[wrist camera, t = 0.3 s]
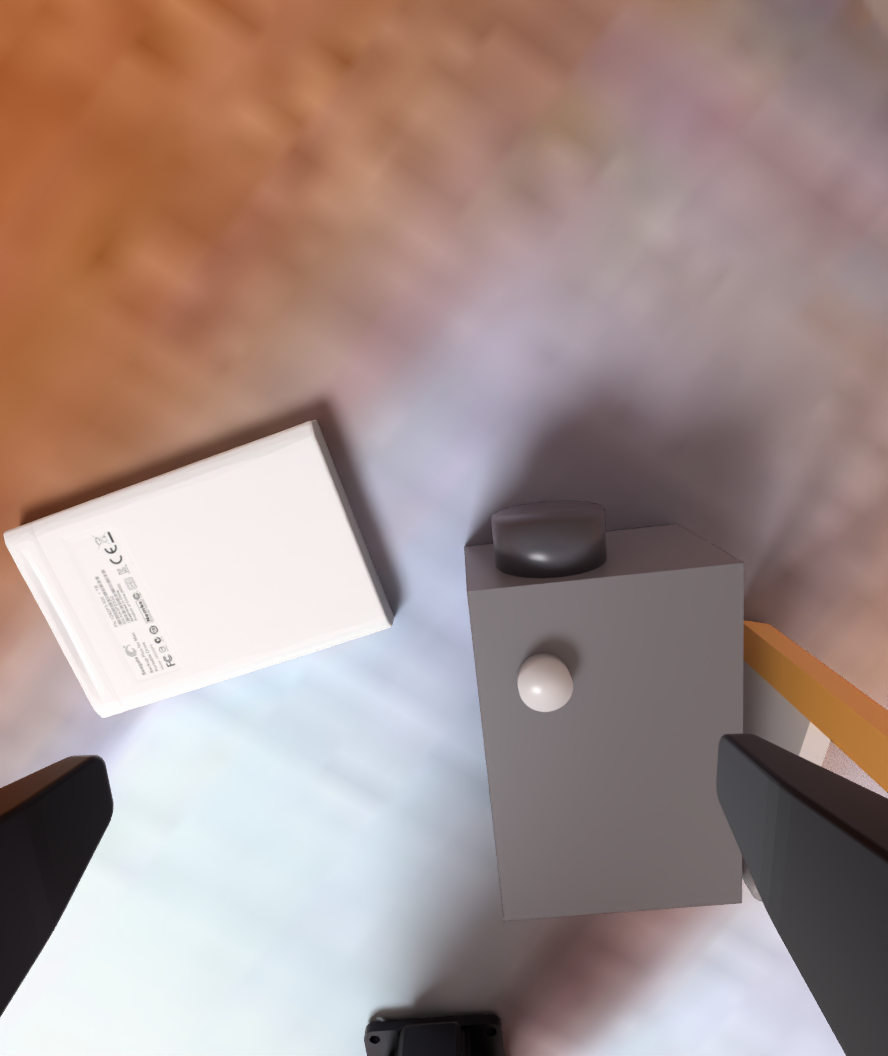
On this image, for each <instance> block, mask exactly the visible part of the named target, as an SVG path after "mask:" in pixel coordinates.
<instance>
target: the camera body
mask: <svg viewBox="0 0 888 1056" xmlns="http://www.w3.org/2000/svg"><path fill="white" fill-rule="evenodd" d="M491 524H492V534H493V544H484V545H475V546H465V547H464V550H465V567H466V584H467V596H468V605H469V614H470V623H471V632H472V641H473V650H474V658H475V667H476V676H477V685H478V694H479V703H480V712H481V720H482V729H483V738H484V747H485V756H486V765H487V774H488V782H489V791H490V800H491V809H492V818H493V827H494V836H495V844H496V853H497V862H498V871H499V880H500V889H501V898H502V906H503V915H504V921H513V920H526V919H539V918H552V917H565V916H578V915H592V914H605V913H618V912H631V911H644V910H657V909H670V908H684V907H697V906H710V905H723V904H736V903H742V854H741V851H740V849H739V847H738V844H737V842H736V840H735V838H734V835H733V833H732V831H731V828H730V826H729V824H728V821H727V819H726V817H725V815H724V812H723V810H722V808H721V805H720V803H719V800H718V796H717V791H716V777H717V761H718V746H719V741H720V738H721V737H722V736H723V735H724V734H738V733H743V641H744V563H743V562H742V561H740V560H738V559H737V558H735V557H733V556H731V555H730V554H728V553H726V552H725V551H723V550H721V549H719V548H718V547H716V546H714V545H713V544H711V543H709V542H707V541H706V540H704V539H702V538H701V537H699V536H697V535H695V534H694V533H692V532H690V531H689V530H687V529H685V528H683V527H682V526H680V525H678V524H671V525H662V526H652V527H643V528H633V529H624V530H615V531H605V512H604V508H603V507H602V506H601V505H598V504H595V503H590V502H582V501H548V502H537V503H530V504H523V505H518V506H514V507H510V508H506V509H503V510H500V511H498V512H496V513H495V514H493V515H492V516H491Z"/></svg>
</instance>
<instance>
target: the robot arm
mask: <svg viewBox="0 0 888 1056" xmlns="http://www.w3.org/2000/svg"><path fill="white" fill-rule="evenodd" d="M716 791H717V796H718V800H719V803H720V805H721V808H722V810H723V812H724V815H725V817H726V819H727V821H728V824H729V826H730V828H731V831H732V833H733V835H734V838H735V840H736V842H737V844H738V847H739V849H740V851H741V854H742V856H743V858H744V861H745V863H746V865H747V867H748V870H749V872H750V874H751V877H752V879H753V881H754V884H755V886H756V888H757V890H758V893H759V895H760V897H761V899H762V901H763V904H764V906H765V908H766V910H767V912H768V914H769V916H770V918H771V920H772V922H773V924H774V926H775V927H776V929H777V931H778V933H779V935H780V937H781V939H782V940H783V942H784V944H785V946H786V948H787V949H788V951H789V953H790V955H791V957H792V958H793V960H794V962H795V964H796V966H797V968H798V969H799V971H800V973H801V975H802V977H803V978H804V980H805V982H806V984H807V986H808V987H809V989H810V991H811V993H812V995H813V996H814V998H815V1000H816V1002H817V1004H818V1005H819V1007H820V1009H821V1011H822V1013H823V1015H824V1016H825V1018H826V1020H827V1022H828V1024H829V1025H830V1027H831V1029H832V1031H833V1033H834V1034H835V1036H836V1038H837V1040H838V1042H839V1043H840V1045H841V1047H842V1049H843V1051H844V1053H845V1054H846V1056H888V799H887V798H885V797H883V796H881V795H879V794H877V793H875V792H873V791H871V790H869V789H867V788H864V787H862V786H860V785H858V784H856V783H854V782H852V781H850V780H848V779H846V778H844V777H842V776H840V775H837V774H835V773H833V772H831V771H829V770H827V769H825V768H823V767H821V766H819V765H817V764H815V763H813V762H811V761H808V760H806V759H804V758H802V757H800V756H798V755H796V754H794V753H792V752H790V751H788V750H786V749H784V748H781V747H779V746H777V745H775V744H773V743H771V742H769V741H767V740H765V739H763V738H761V737H759V736H757V735H754V734H751V733H738V734H724V735H723V736H722V737H721V738H720V741H719V746H718V761H717V777H716ZM112 813H113V799H112V794H111V789H110V784H109V779H108V774H107V769H106V765H105V762H104V760H103V759H102V758H101V757H100V756H98V755H78V756H70V757H67V758H65V759H63V760H61V761H58V762H56V763H54V764H52V765H50V766H48V767H45V768H43V769H41V770H39V771H37V772H35V773H33V774H30V775H28V776H26V777H24V778H22V779H20V780H17V781H15V782H13V783H11V784H9V785H7V786H4V787H2V788H0V1017H1V1015H2V1014H3V1012H4V1011H5V1009H6V1007H7V1006H8V1004H9V1002H10V1001H11V999H12V998H13V996H14V994H15V993H16V991H17V990H18V988H19V986H20V985H21V983H22V982H23V980H24V978H25V977H26V975H27V974H28V972H29V970H30V969H31V967H32V965H33V964H34V962H35V961H36V959H37V957H38V956H39V954H40V953H41V951H42V949H43V948H44V946H45V944H46V943H47V941H48V939H49V938H50V936H51V934H52V932H53V931H54V929H55V927H56V925H57V923H58V922H59V920H60V918H61V916H62V914H63V912H64V911H65V909H66V907H67V905H68V903H69V901H70V899H71V897H72V895H73V893H74V891H75V889H76V887H77V885H78V883H79V881H80V879H81V877H82V876H83V874H84V872H85V870H86V868H87V866H88V864H89V862H90V860H91V858H92V856H93V854H94V852H95V850H96V848H97V846H98V844H99V842H100V840H101V838H102V837H103V835H104V833H105V831H106V829H107V827H108V825H109V823H110V820H111V817H112ZM364 1042H365V1047H366V1052H367V1056H505V1047H504V1039H503V1031H502V1022H501V1019H500V1018H499V1017H498V1016H496V1015H491V1014H488V1015H474V1016H459V1017H444V1018H430V1019H415V1020H401V1021H386V1022H374V1023H370V1024H369V1025H367V1027H366V1030H365V1037H364Z"/></svg>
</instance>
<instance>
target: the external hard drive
mask: <svg viewBox="0 0 888 1056" xmlns="http://www.w3.org/2000/svg"><path fill="white" fill-rule="evenodd" d="M4 539H5V543H6V546H7V548H8V550H9V552H10V553H11V555H12V557H13V559H14V561H15V563H16V565H17V567H18V569H19V570H20V572H21V574H22V576H23V578H24V579H25V581H26V583H27V585H28V587H29V588H30V590H31V592H32V594H33V596H34V598H35V599H36V601H37V603H38V605H39V607H40V609H41V611H42V612H43V614H44V616H45V618H46V620H47V622H48V624H49V626H50V627H51V629H52V631H53V633H54V635H55V637H56V639H57V641H58V643H59V645H60V646H61V648H62V650H63V652H64V654H65V656H66V658H67V660H68V662H69V663H70V665H71V667H72V669H73V671H74V673H75V675H76V676H77V678H78V680H79V682H80V684H81V686H82V688H83V690H84V692H85V694H86V696H87V697H88V699H89V701H90V703H91V705H92V707H93V708H94V710H95V711H96V712H97V713H98V714H99V715H100V716H101V717H102V718H105V717H109V716H112V715H115V714H118V713H121V712H124V711H127V710H130V709H134V708H137V707H140V706H144V705H147V704H150V703H153V702H157V701H160V700H163V699H166V698H170V697H173V696H176V695H179V694H182V693H186V692H189V691H192V690H195V689H199V688H202V687H205V686H208V685H211V684H214V683H217V682H221V681H224V680H227V679H230V678H233V677H237V676H240V675H243V674H246V673H249V672H253V671H256V670H259V669H262V668H265V667H268V666H271V665H275V664H278V663H281V662H284V661H287V660H291V659H294V658H297V657H300V656H303V655H307V654H310V653H313V652H316V651H319V650H322V649H325V648H328V647H331V646H334V645H337V644H341V643H343V642H346V641H349V640H353V639H356V638H360V637H363V636H366V635H369V634H372V633H375V632H378V631H381V630H384V629H388V628H390V627H392V624H393V621H394V616H393V613H392V610H391V607H390V605H389V602H388V600H387V597H386V595H385V592H384V590H383V587H382V585H381V582H380V580H379V577H378V575H377V572H376V570H375V567H374V564H373V562H372V559H371V557H370V554H369V552H368V549H367V547H366V544H365V542H364V539H363V537H362V534H361V531H360V529H359V526H358V524H357V521H356V519H355V516H354V514H353V511H352V509H351V506H350V503H349V501H348V498H347V496H346V493H345V491H344V488H343V486H342V483H341V480H340V478H339V475H338V473H337V470H336V468H335V465H334V463H333V460H332V457H331V455H330V452H329V450H328V447H327V445H326V442H325V439H324V437H323V434H322V432H321V429H320V426H319V424H318V422H317V420H312V421H307V422H305V423H302V424H299V425H297V426H294V427H291V428H289V429H286V430H283V431H280V432H278V433H275V434H272V435H269V436H267V437H264V438H261V439H258V440H255V441H252V442H250V443H247V444H244V445H241V446H239V447H236V448H233V449H230V450H227V451H225V452H222V453H219V454H216V455H214V456H211V457H208V458H205V459H203V460H200V461H197V462H194V463H192V464H189V465H186V466H183V467H181V468H178V469H175V470H172V471H170V472H167V473H164V474H161V475H159V476H156V477H153V478H150V479H148V480H145V481H142V482H139V483H137V484H134V485H131V486H128V487H126V488H123V489H120V490H117V491H115V492H112V493H109V494H106V495H104V496H101V497H98V498H95V499H93V500H90V501H87V502H84V503H82V504H79V505H76V506H73V507H71V508H68V509H65V510H62V511H60V512H57V513H54V514H52V515H49V516H46V517H43V518H41V519H38V520H36V521H33V522H30V523H27V524H24V525H21V526H19V527H16V528H13V529H10V530H7V531H5V532H4Z"/></svg>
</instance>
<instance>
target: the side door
mask: <svg viewBox="0 0 888 1056" xmlns="http://www.w3.org/2000/svg"><path fill="white" fill-rule="evenodd" d="M743 733H751V734H754V735H757V736H759V737H761V738H763V739H765V740H767V741H769V742H771V743H773V744H775V745H777V746H779V747H781V748H784V749H786V750H788V751H790V752H792V753H794V754H796V755H798V756H800V757H802V758H804V759H806V760H808V761H811V762H813V763H815V764H817V765H819V766H822V763H823V760H824V758H825V755H826V752H827V749H828V746H829V743H830V740H831V741H832V742H833V743H834V744H835V745H836V746H837V747H839V748H840V749H841V750H842V751H843V752H844V753H845V754H846V755H847V756H848V757H849V758H850V759H852V760H853V761H854V762H855V763H856V764H857V765H858V766H859V767H860V768H861V769H862V770H864V771H865V772H866V773H867V774H868V775H869V776H870V777H871V778H872V779H873V780H874V781H875V782H877V783H878V784H879V785H880V786H881V787H882V788H883V789H884V790H885V791H886V792H887V793H888V710H886V709H885V708H883V707H882V706H881V705H879V704H878V703H877V702H875V701H874V700H873V699H871V698H870V697H868V696H867V695H866V694H864V693H863V692H862V691H860V690H859V689H858V688H856V687H855V686H853V685H852V684H851V683H849V682H848V681H847V680H845V679H844V678H842V677H841V676H840V675H838V674H837V673H836V672H834V671H833V670H832V669H830V668H829V667H827V666H826V665H825V664H823V663H822V662H821V661H819V660H818V659H816V658H815V657H814V656H812V655H811V654H810V653H808V652H807V651H806V650H804V649H803V648H801V647H800V646H799V645H797V644H796V643H795V642H793V641H792V640H790V639H789V638H788V637H786V636H785V635H784V634H782V633H781V632H780V631H778V630H777V629H775V628H774V627H773V626H771V625H770V624H766V623H759V622H752V621H745V620H744V641H743ZM742 879H743V880H744V882H745V884H746V885H747V887H748V889H749V890H750V892H751V894H752V895H753V897H754V898H755V899H757V900H759V901H762V899H761V897H760V895H759V893H758V890H757V888H756V886H755V884H754V881H753V879H752V877H751V874H750V872H749V870H748V867H747V865H746V863H745V861H744V858H743V856H742Z"/></svg>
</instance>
